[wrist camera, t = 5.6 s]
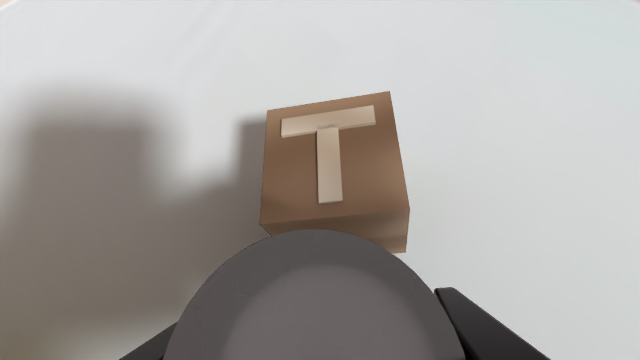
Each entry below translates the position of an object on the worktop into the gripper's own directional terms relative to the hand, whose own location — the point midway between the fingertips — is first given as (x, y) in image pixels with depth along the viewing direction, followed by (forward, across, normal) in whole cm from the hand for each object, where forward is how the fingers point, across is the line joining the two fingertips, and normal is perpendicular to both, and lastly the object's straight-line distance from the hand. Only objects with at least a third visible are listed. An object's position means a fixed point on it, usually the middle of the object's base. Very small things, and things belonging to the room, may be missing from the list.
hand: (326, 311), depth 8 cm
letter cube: (+9, 0, +1) cm, 9 cm away
